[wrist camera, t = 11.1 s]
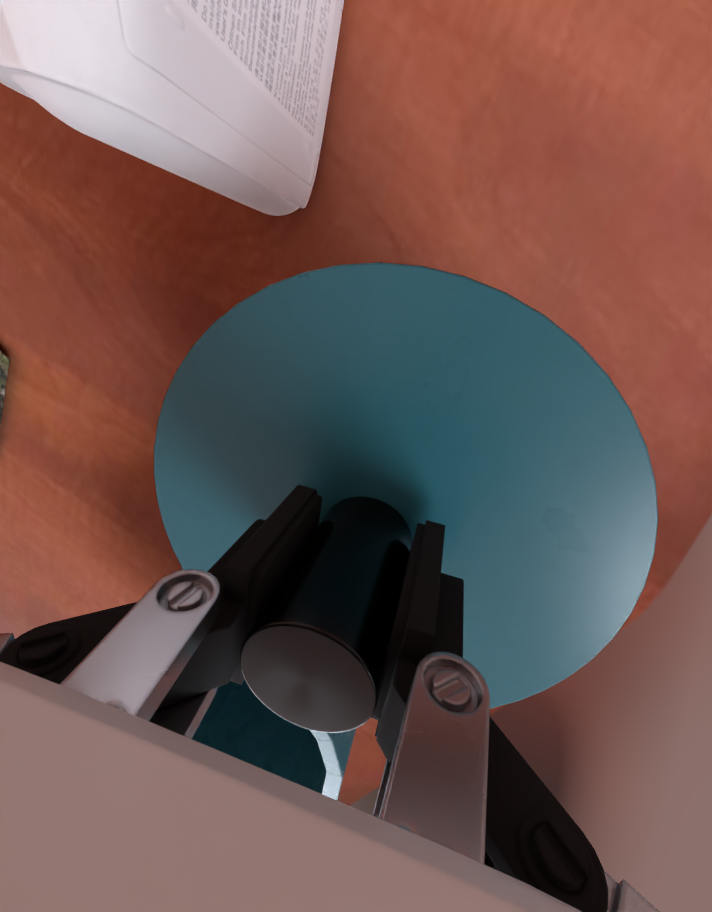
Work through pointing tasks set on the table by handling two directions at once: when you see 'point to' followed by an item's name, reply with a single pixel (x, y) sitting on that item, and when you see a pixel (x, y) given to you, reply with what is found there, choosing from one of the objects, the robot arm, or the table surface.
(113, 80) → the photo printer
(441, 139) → the table surface
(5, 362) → the eiffel tower figurine
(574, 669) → the lid
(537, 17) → the table surface
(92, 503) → the table surface
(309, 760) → the pot
